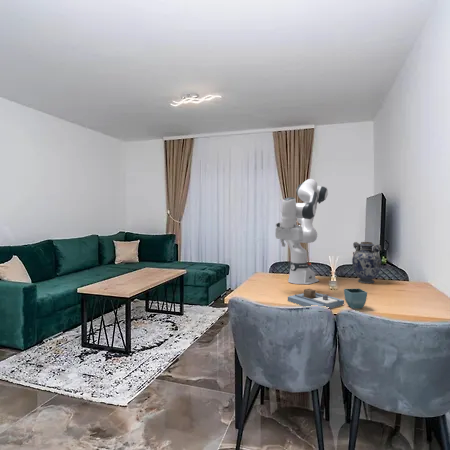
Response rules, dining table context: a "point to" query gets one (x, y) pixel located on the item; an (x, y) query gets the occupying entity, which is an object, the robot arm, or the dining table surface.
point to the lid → (325, 299)
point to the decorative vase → (366, 261)
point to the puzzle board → (313, 301)
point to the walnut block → (310, 293)
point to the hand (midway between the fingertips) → (289, 247)
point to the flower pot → (355, 297)
